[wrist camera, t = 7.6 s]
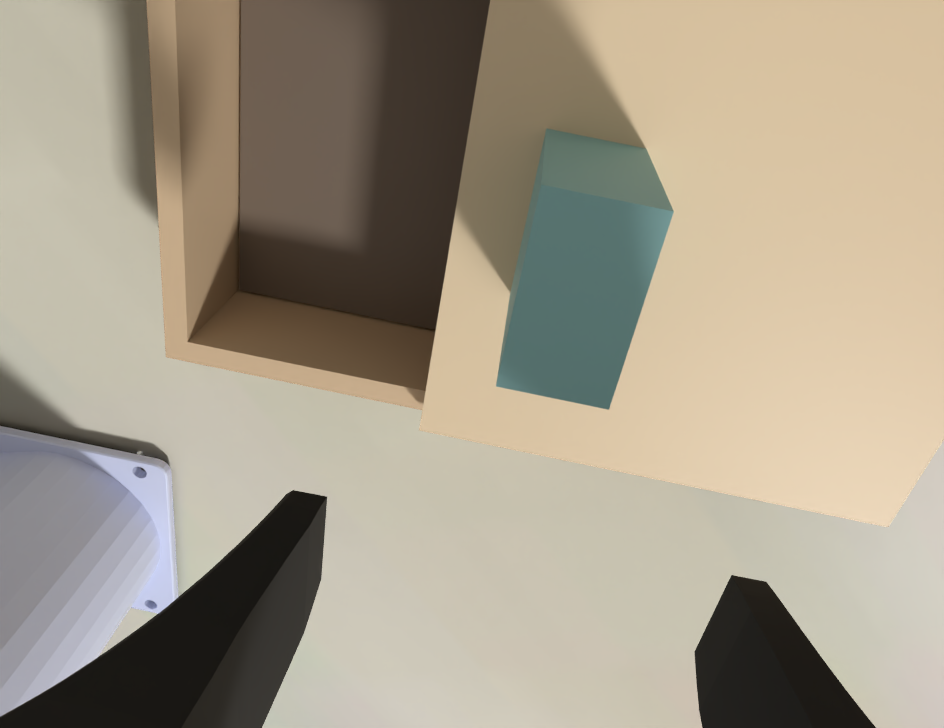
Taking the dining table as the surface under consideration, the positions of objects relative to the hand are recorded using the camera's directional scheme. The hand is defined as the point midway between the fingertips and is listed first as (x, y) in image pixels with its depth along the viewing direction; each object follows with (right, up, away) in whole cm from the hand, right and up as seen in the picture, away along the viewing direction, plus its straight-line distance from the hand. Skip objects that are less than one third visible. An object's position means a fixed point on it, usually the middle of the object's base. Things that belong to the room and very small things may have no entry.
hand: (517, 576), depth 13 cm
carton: (-2, +10, +7) cm, 12 cm away
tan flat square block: (+5, +6, +3) cm, 8 cm away
